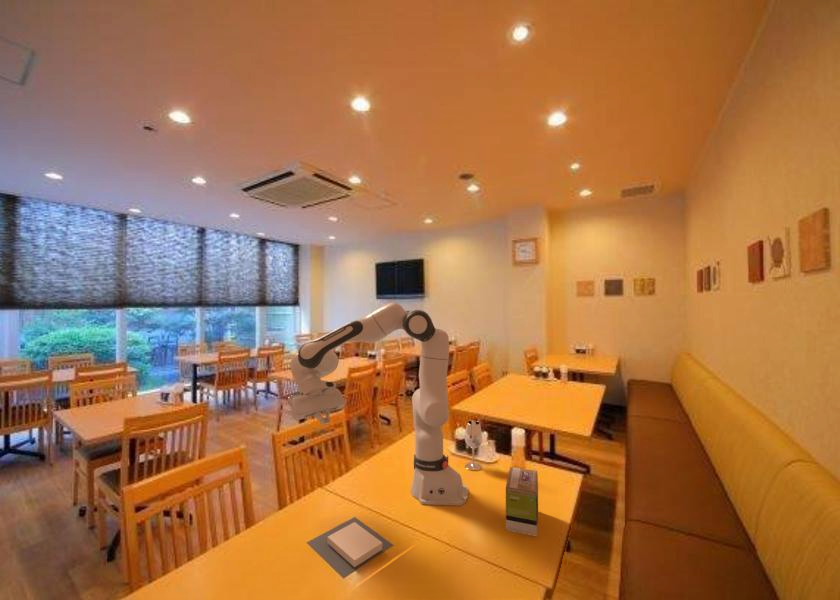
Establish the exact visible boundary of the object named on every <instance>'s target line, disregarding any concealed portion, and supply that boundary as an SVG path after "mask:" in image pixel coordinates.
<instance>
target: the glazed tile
mask: <svg viewBox="0 0 840 600" xmlns="http://www.w3.org/2000/svg"><path fill="white" fill-rule="evenodd" d="M327 543H328V544H329V545H330V546H331V547H332V548H333V549H334V550H336V551H337V552H338V553H339V554H340V555H341V556H342V557H343V558H344V559H346V560H347V561H348V562H349V563H350V564H351V565H352V566H353V567H356V566H358V565H359V564H361V563H362V562H364V561H366V560H367V559H369V558H370V557H372V556H373V555H375V554H376V553H378V552H379V551H381V550H382V542H381V541H380V540H378V539H377V538H375V537H374V536H373V535H371V534H370V533H369V532H367V531H366V530H365V529H363V528H362V527H361V526H359V525H358V524H357V523H355V522H354V523H352V524H350V525H348V526H346V527H344V528H343V529H341V530H339V531H337V532H335V533H333V534H331V535H330V536H328V537H327Z"/></svg>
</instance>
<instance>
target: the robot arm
mask: <svg viewBox="0 0 840 600" xmlns="http://www.w3.org/2000/svg"><path fill="white" fill-rule="evenodd" d="M396 330H397V331H398V330H404V332H405V333H406V334H407V335H408V336H409V337H411V338H413V339H416V340H417V341H420V342H421V349H420V352H421V353H420V361H419V368H418V380H419V388H417V389H416V390H415V391H414V392H413V394H412V397H411V404H412V417H413V428H414V443H415V444H414V448H415V449H414V455H413V470H414V471H413V479H412V484H411V487H410V494H411V496H413V497H414V498H415V499H417V500H418V501H419V503H420V504H422V505H429V506H430V505H433V506H434V505H436V506H437V505H439V506H462V505H464V504H466V502H467V501H468V498H469V489H468V486H467V485H466V484H465V483H463V479H462V476H461V474H460V473H459V472H458V471H457V470H455V469H454V468H453V467H452V466H450V464H449V456H448V455H447V456H445V454H444V434H443V428H442V426H444V425H445V424H446V423H447V422H448V421H449V419H450V409H449V403H448V402H449V401H448V400H449V399H448V398H449V397H448V384H447V383H448V381H447V380H448V378H447V377H448V368H449V360H450V359H449V358H450V339H449V335H448V333H447V332H446V331H445V330H443V329H439V328H436V327H435V325H434V323H433V321H432V318H431V317H430V315H429V313H427V312H426V311H425V310H422V309H413V310H405V309H404V307H403V306H402V305H401V304H400V303H397V302H396V301H395V302H394V301H393V302H391V301H390V302H389V303H386V304H384V305H382V306H380V307H378V308H376V309H374V310H373V311H372V312H370V313H368V314H367V315H365V316H363V317H360V318H359V319H355V320H353V321H350V322H347V323H345V324H344V325H341V326H339V327H337V328H336V329H334V330H332V331H330V332H328V333H326V334H324V335H323V336H322V335H321V337H317V338H314V339H310V340H307V341H306V342H304V343H303V344H302V345H301V346H300V348H299V349H298V353H297V354H295V355H294V356H293V357H292V358H291V360H290V363H289V367H290V371H291V372H290V373H291V374H292V377H293V380H294V382H295V383H296V385H297V389H298V392H299V393H297V394H291V395H290V396H288V398H287V404H288V405H289V407H290V412H291V415H292V418H293V420H295V421H299V420H303V419H307V418H310V417H315V419H316V420H317V421H319V422H320V424H321V425H322V426H325V425H326V424H330V422H331V417H330V415H331V412H334V411H339V410H341V409H342V408H343V407H344V406H345V404H346V400H345V397H344V395H343V394H342V391H341V390H340V389H339V388H338V387H337V384H336V382H334V381H326V380H322V379H321V378H325V377H327V376H328V375H330V374H332V373H333V372H334V371H335V370H337V368H338V365H339V356H338V355H337V353H335V352H334V351H333V350H336V349H337V348H340V347H342V346H343V345H344V344H346V343H350V342H362V343H367V344H375V343H377V342H379V341H381V340H383V339H384V338H386V337H387V336H389V335H390V334H392V333H394V332H395V331H396ZM336 387H337V388H336ZM322 415H324V416H325V417H323V416H322Z"/></svg>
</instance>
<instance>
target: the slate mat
mask: <svg viewBox="0 0 840 600" xmlns="http://www.w3.org/2000/svg"><path fill="white" fill-rule="evenodd" d="M354 522H355V523H357V524H358V525H359V526H361V527H362V528H363V529H365V530H366V531H367V532H369V533H370V534H371V535H373V536H374V537H375V538H377V539H378V540H380V541H381V542H382V550H381V551H379V552H378V553H376V554H375V555H373V556H372V557H370V558H369V559H367V560H366V561H364V562H362V563H361V564H359V565H358V566H356V567H353V566H352V565H351V564H350V563H349V562H348V561H347V560H346V559H344V558H343V557H342V556H341V555H340V554H339V553H338V552H337V551H336V550H334V549H333V548H332V547H331V546H330V545H329V544H328V543H327V537H328V536H330V535H331V534H333V533H335V532H337V531H339V530H341V529H343V528H344V527H346V526H348V525H350V524H352V523H354ZM306 544H307V545H308V546H309V547H310V548H311V549H313V550H314V551H315V552H316V553H317V554H318V556H319V557H321V558H322V559H323V560H324V561H325V562H326V563H327V564H328V565H329V566H330V567H331V568H332V569H333V570H334V571H335V572H336V573H338V575H339V576H340V577H341V578H343V579H345V578H347V577H348V576H349V575H351V574H352V573H355V571H357V570H359V569H360V568H361V567H363V566H365V565H366V564H368V563H370V562H371V561H373V560H374V559H375V558H377V557H378V556H380V555H381V554H383V553H384V552H386V551H387V550H389V549H390V548H391V547H393V546H394V544H393V543H391V542H390V541H389V540H387V539H386V538H385V537H384V536H382V535H380V534H379V533H378V532H377V531H375V530H374V529H373V528H371V527H370V526H369V525H367V524H365V523H364V522H363V521H362V520H361V519H359V518H357V517H356V516H354V517H352V518H350V519H348V520H346V521H344V522H343V523H340V524H338V525H337V526H335V527H333V528H331V529H329V530H327V531H325V532H323V533H321V534H320V535H318V536H316V537H314V538H313V539H310V540H309V541H306Z"/></svg>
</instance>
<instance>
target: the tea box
mask: <svg viewBox="0 0 840 600" xmlns="http://www.w3.org/2000/svg"><path fill="white" fill-rule="evenodd" d="M538 477H539V475H538V470H534V469H529V468H528V469H526V468H521V467H520V468H519V467H513V466H510V467H509V471H508V475H507V480H506V484H505V530H506V531H508V530H509V532H514V531H515V532H514V533H517V532H519V533H518V534H522V533H525V534H524V535H527V534H530V535H529V536H532V535H536V536H535V537H538V524H539V523H538V522H539V478H538Z"/></svg>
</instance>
